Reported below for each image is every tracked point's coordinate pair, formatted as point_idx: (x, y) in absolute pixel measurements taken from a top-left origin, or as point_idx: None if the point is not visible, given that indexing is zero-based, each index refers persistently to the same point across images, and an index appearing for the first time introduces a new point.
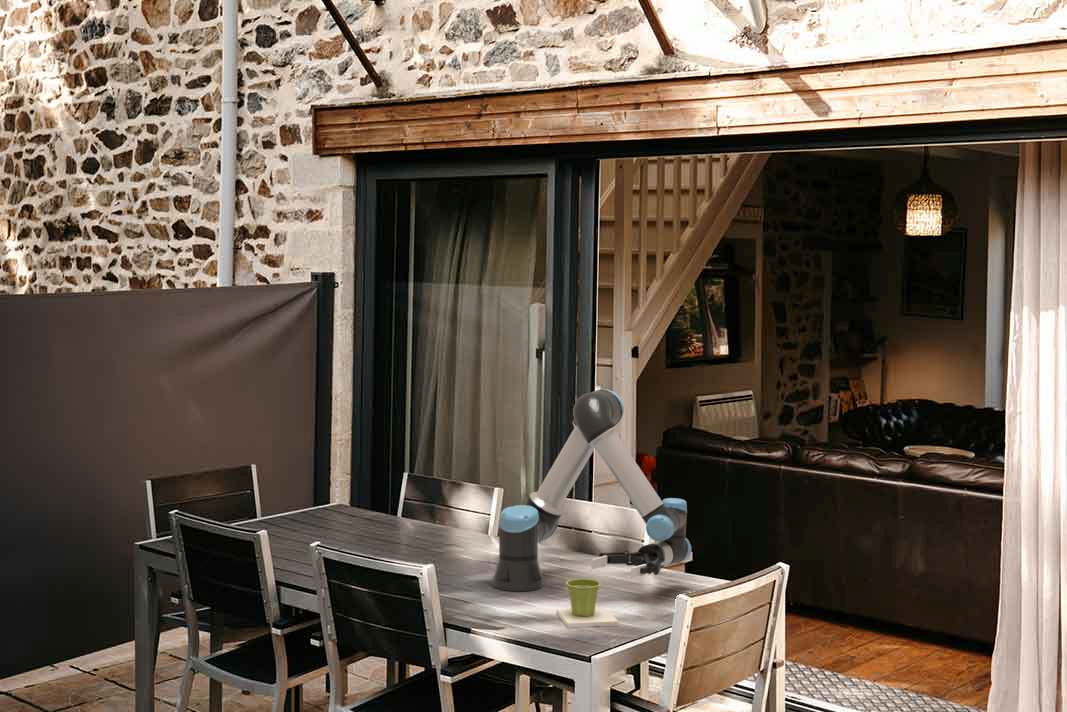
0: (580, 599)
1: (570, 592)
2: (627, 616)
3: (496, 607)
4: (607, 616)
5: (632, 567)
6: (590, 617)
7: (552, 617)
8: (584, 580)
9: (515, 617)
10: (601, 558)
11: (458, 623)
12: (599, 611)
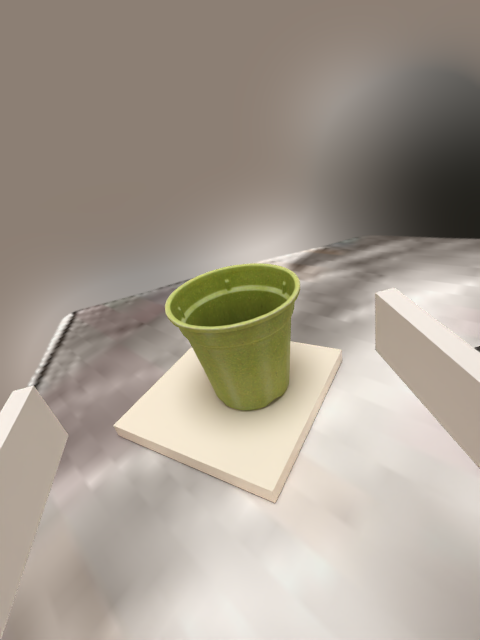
0: (217, 318)
1: (254, 293)
2: (156, 543)
3: (465, 285)
4: (174, 426)
5: (27, 397)
6: (207, 382)
7: (311, 342)
8: (278, 311)
9: (353, 293)
10: (439, 356)
11: (357, 240)
12: (239, 437)
